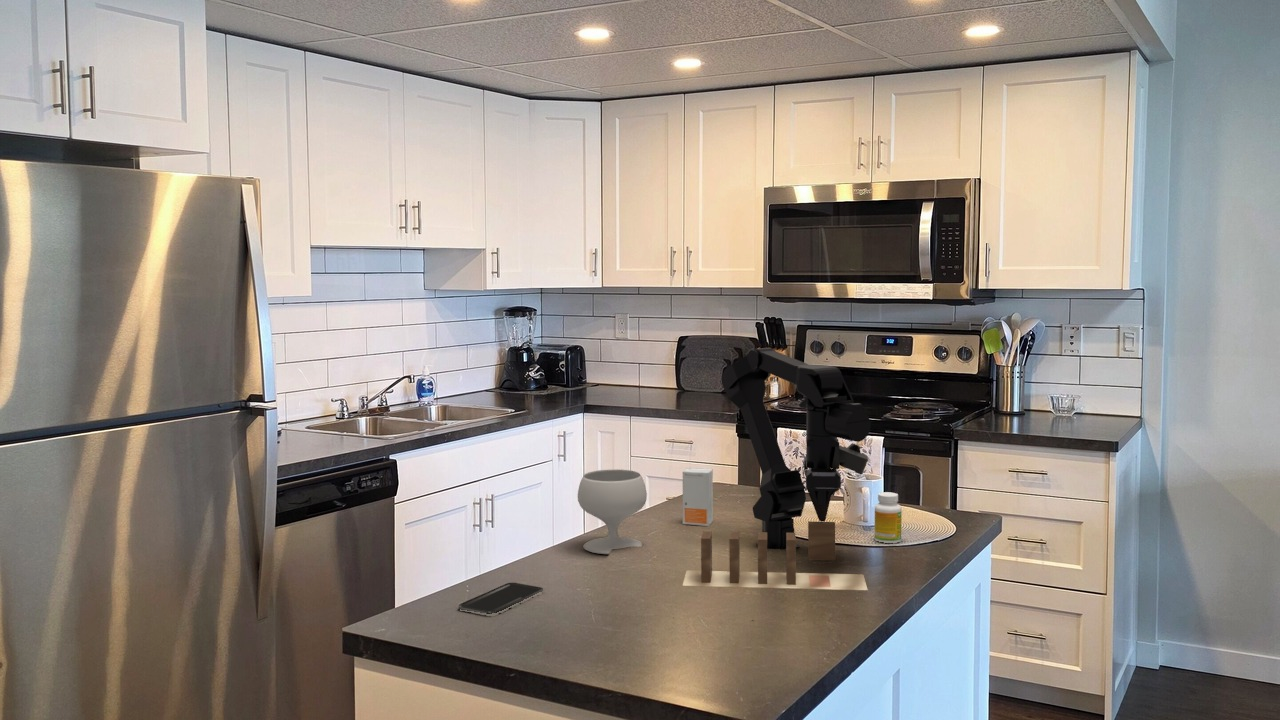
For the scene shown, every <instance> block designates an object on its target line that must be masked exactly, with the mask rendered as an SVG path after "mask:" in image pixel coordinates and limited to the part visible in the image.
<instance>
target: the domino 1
mask: <svg viewBox="0 0 1280 720" xmlns="http://www.w3.org/2000/svg"><path fill="white" fill-rule="evenodd" d="M712 532H713V531H711V530H708V531H707V530H704V531H703V530H702V534H701V537H700V558H701V559H700V560H701V561H700V562H701V563H700V571H701V583H710V582H711V577H712V571H713V554H712V553H713V541H712V539H713V535H712V534H713V533H712Z"/></svg>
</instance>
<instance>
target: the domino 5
mask: <svg viewBox="0 0 1280 720" xmlns="http://www.w3.org/2000/svg"><path fill="white" fill-rule="evenodd" d="M807 529H808V530H807V537H808V538H807V545H808V546H807V554H808V555H807V559H808V561H809V560H810V561H836V521H808V523H807Z"/></svg>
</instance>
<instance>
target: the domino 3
mask: <svg viewBox="0 0 1280 720" xmlns="http://www.w3.org/2000/svg"><path fill="white" fill-rule="evenodd" d="M757 543H758V546H757V572H758V584H767V572H768V549H767V532H762V531H759V532H758V533H757Z"/></svg>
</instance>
